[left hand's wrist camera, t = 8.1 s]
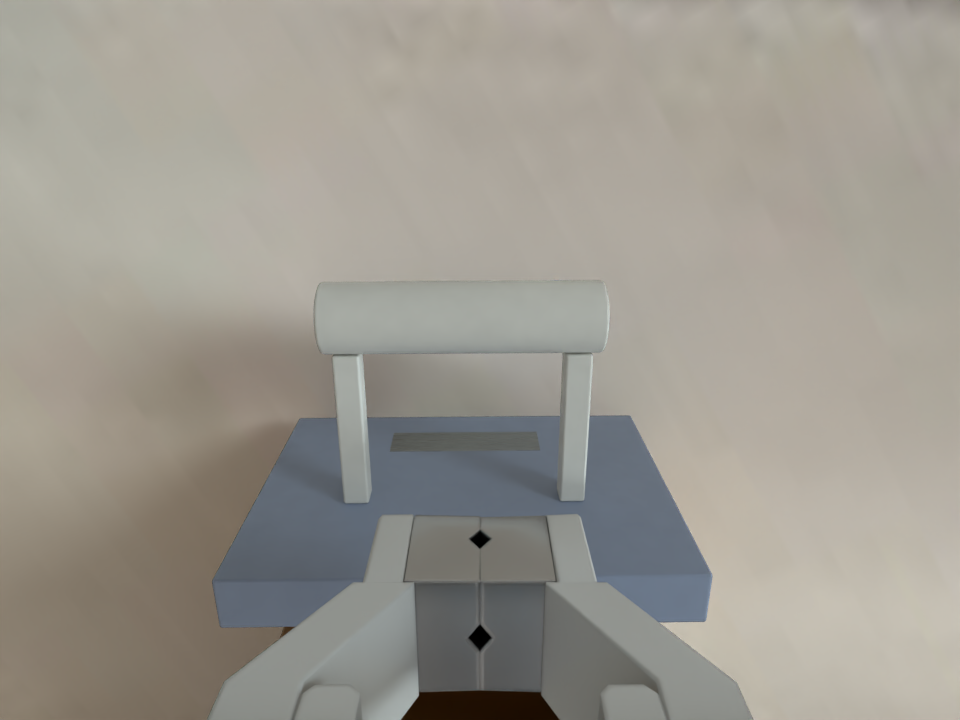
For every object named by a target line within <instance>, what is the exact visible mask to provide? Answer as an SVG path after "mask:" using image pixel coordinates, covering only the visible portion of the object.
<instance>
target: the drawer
mask: <svg viewBox="0 0 960 720" xmlns="http://www.w3.org/2000/svg"><path fill="white" fill-rule="evenodd" d="M314 331H315V338H316V342H317V346H318V348H319V351H320V352H321V353H322V354H334V355H333V356H332V369H333V380H334V392H335V404H336V415H337V418H300V419H299V421H298V423H297V425H296V426H295V428H294V430H293V432H292V434H291V436H290V438H289V439H288V441H287V443H286V445H285V447H284V449H283V451H282V452H281V454H280V456H279V458H278V460H277V462H276V463H275V465H274V467H273V469H272V471H271V473H270V475H269V476H268V478H267V480H266V482H265V484H264V486H263V488H262V489H261V491H260V493H259V495H258V497H257V499H256V501H255V502H254V504H253V506H252V508H251V510H250V512H249V513H248V515H247V517H246V519H245V521H244V523H243V525H242V526H241V528H240V530H239V532H238V534H237V536H236V538H235V539H234V541H233V543H232V545H231V547H230V549H229V551H228V552H227V554H226V556H225V558H224V560H223V562H222V563H221V565H220V567H219V569H218V571H217V573H216V575H215V576H214V578H213V580H212V584H213V590H214V595H215V601H216V607H217V612H218V618H219V624H220V627H222V628H228V627H284V628H283V631H282V634H281V637H283V636H284V635H285V634H287V633H288V632H289V631H290V630H292V629H293V628H294V627H296V626H297V625H298V624H300V623H301V622H302V621H303V620H305V619H306V618H307V617H309V616H310V615H311V614H313V613H314V612H315V611H316V610H318V609H319V608H320V607H322V606H323V605H324V604H326V603H327V602H328V601H329V600H331V599H332V598H333V597H335V596H336V595H337V594H339V593H340V592H341V591H342V590H344V589H345V588H346V587H348V586H349V585H350V584H352V583H353V582H363V579H364V575H365V571H366V567H367V563H368V559H369V555H370V551H371V547H372V543H373V539H374V535H375V531H376V527H377V523H378V519H379V518H380V517H381V516H382V515H398V514H413V515H414V516H415V515H456V516H480V517H503V516H545V515H564V514H578V515H579V516H580V517H581V520H582V524H583V528H584V532H585V536H586V540H587V544H588V548H589V552H590V556H591V560H592V564H593V568H594V571H595V575H596V579H597V582H607V583H608V584H610V585H611V586H612V587H614V588H615V589H616V590H618V591H619V592H620V593H621V594H623V595H624V596H625V597H627V598H628V599H629V600H630V601H632V602H633V603H634V604H636V605H637V606H638V607H640V608H641V609H642V610H643V611H645V612H646V613H647V614H649V615H650V616H651V617H653V618H654V619H655V620H656V621H658V622H704V621H706V617H707V610H708V603H709V596H710V590H711V583H712V573H711V571H710V569H709V568H708V566H707V564H706V562H705V560H704V558H703V556H702V554H701V552H700V550H699V548H698V546H697V544H696V542H695V540H694V538H693V536H692V535H691V533H690V531H689V529H688V527H687V525H686V523H685V521H684V519H683V517H682V515H681V513H680V511H679V509H678V507H677V505H676V503H675V502H674V500H673V498H672V496H671V494H670V492H669V490H668V488H667V486H666V484H665V482H664V480H663V478H662V476H661V474H660V472H659V470H658V469H657V467H656V465H655V463H654V461H653V459H652V457H651V455H650V453H649V451H648V449H647V447H646V445H645V443H644V441H643V439H642V437H641V436H640V434H639V432H638V430H637V428H636V426H635V424H634V422H633V420H632V418H631V416H590V400H591V384H592V367H593V355H592V352H602V351H603V350H604V349H605V346H606V343H607V339H608V332H609V299H608V293H607V289H606V286H605V283H604V282H603V281H600V280H594V281H417V282H322V283H320V284H319V285H318V287H317V290H316V294H315V300H314ZM448 353H563V360H562V383H561V405H560V416H515V417H393V418H367V410H366V395H365V381H364V366H363V354H448ZM281 637H280V638H281ZM401 720H559V718H558V717H557V716H556V714H555V713H554V712H553V710H552V709H551V708H550V706H549V705H548V704H547V702H546V701H545V700H544V698H543V697H542V696H541V692H518V691H483V690H475V691H441V692H419V696H418V698H417V699H416V700H415V702H414V703H413V704H412V706H411V707H410V708H409V710H408V711H407V712H406V714H405V715H404V716H403V718H402V719H401Z"/></svg>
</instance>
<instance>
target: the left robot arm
mask: <svg viewBox="0 0 960 720" xmlns="http://www.w3.org/2000/svg"><path fill="white" fill-rule="evenodd" d="M475 690H483V691H518V692H541V696H542V697H543V698H544V700H545V701H546V702H547V704H548V705H549V706H550V708H551V709H552V710H553V712H554V713H555V714H556V716H557V717H558V718H559V720H753V718H752V716H751V713H750V711H749V709H748V707H747V704H746V702H745V700H744V698H743V695H742V693H741V691H740V689H739V687H738V684H737V682H735V681H734V680H733V679H731V678H730V677H729V676H728V675H726V674H725V673H724V672H722V671H721V670H720V669H719V668H717V667H716V666H715V665H713V664H712V663H711V662H709V661H708V660H707V659H706V658H704V657H703V656H702V655H700V654H699V653H698V652H697V651H695V650H694V649H693V648H691V647H690V646H689V645H687V644H686V643H685V642H684V641H682V640H681V639H680V638H678V637H677V636H676V635H675V634H673V633H672V632H671V631H669V630H668V629H667V628H665V627H664V626H663V625H662V624H660V623H659V622H658V621H656V620H655V619H654V618H653V617H651V616H650V615H649V614H647V613H646V612H645V611H643V610H642V609H641V608H640V607H638V606H637V605H636V604H634V603H633V602H632V601H630V600H629V599H628V598H627V597H625V596H624V595H623V594H621V593H620V592H619V591H618V590H616V589H615V588H614V587H612V586H611V585H610V584H608V583H607V582H597V579H596V575H595V571H594V568H593V564H592V560H591V556H590V552H589V548H588V544H587V540H586V536H585V532H584V528H583V524H582V520H581V517H580V516H579V515H578V514H564V515H545V516H503V517H480V516H456V515H415V516H414V515H413V514H398V515H382V516H381V517H380V518H379V519H378V523H377V527H376V531H375V535H374V539H373V543H372V547H371V551H370V555H369V559H368V563H367V567H366V571H365V575H364V579H363V582H353V583H352V584H350V585H349V586H348V587H346V588H345V589H344V590H342V591H341V592H340V593H339V594H337V595H336V596H335V597H333V598H332V599H331V600H329V601H328V602H327V603H326V604H324V605H323V606H322V607H320V608H319V609H318V610H316V611H315V612H314V613H313V614H311V615H310V616H309V617H307V618H306V619H305V620H303V621H302V622H301V623H300V624H298V625H297V626H296V627H294V628H293V629H292V630H290V631H289V632H288V633H287V634H285V635H284V636H283V637H281V638H280V639H279V640H277V641H276V642H275V643H274V644H272V645H271V646H270V647H268V648H267V649H266V650H264V651H263V652H262V653H261V654H259V655H258V656H257V657H255V658H254V659H253V660H251V661H250V662H249V663H248V664H246V665H245V666H244V667H242V668H241V669H240V670H238V671H237V672H236V673H234V674H233V675H232V676H231V677H229V678H228V679H227V680H225V681H224V683H223V685H222V687H221V690H220V692H219V694H218V696H217V698H216V701H215V703H214V705H213V707H212V709H211V712H210V714H209V716H208V718H207V720H401V719H402V718H403V716H404V715H405V714H406V712H407V711H408V710H409V708H410V707H411V706H412V704H413V703H414V702H415V700H416V699H417V698H418V696H419V692H441V691H475Z"/></svg>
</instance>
